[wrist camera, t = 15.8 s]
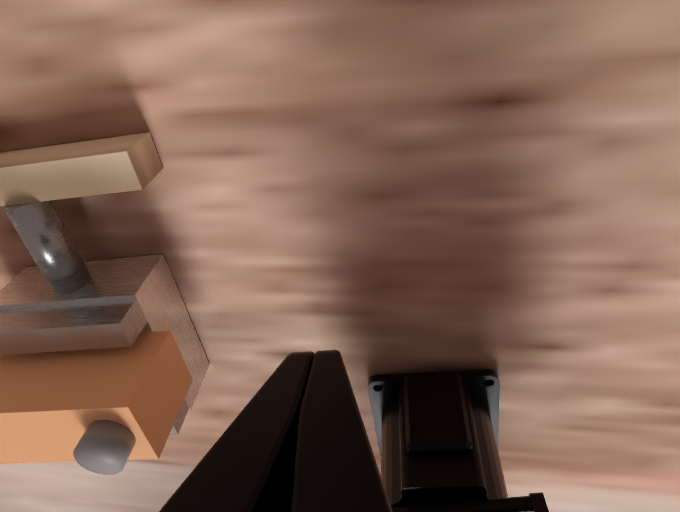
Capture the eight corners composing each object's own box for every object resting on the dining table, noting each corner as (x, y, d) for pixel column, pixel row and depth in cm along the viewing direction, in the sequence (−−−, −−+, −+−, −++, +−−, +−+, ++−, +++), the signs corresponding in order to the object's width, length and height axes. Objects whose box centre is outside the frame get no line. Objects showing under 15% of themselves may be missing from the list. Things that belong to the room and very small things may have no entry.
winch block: (209, 364, 26) (179, 437, 22) (89, 371, 27) (41, 441, 23) (129, 172, 20) (69, 227, 16) (-21, 190, 21) (-110, 246, 17)
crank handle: (192, 380, 22) (147, 483, 18) (18, 389, 23) (-62, 487, 19) (170, 330, 20) (114, 431, 16) (-17, 344, 22) (-111, 440, 18)
